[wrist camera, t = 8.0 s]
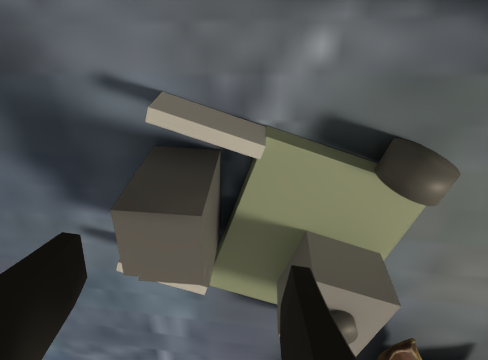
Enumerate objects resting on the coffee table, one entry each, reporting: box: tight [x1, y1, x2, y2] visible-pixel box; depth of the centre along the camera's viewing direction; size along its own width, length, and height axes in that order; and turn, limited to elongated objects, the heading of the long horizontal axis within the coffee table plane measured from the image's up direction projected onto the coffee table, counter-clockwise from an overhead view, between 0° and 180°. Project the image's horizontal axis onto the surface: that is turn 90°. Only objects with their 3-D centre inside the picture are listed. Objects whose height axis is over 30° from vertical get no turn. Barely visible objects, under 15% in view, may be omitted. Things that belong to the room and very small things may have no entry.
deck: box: [117, 92, 460, 357], centre depth 20 cm, size 16×16×6 cm
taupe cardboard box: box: [110, 146, 221, 286], centre depth 19 cm, size 4×6×6 cm, turn 178°
